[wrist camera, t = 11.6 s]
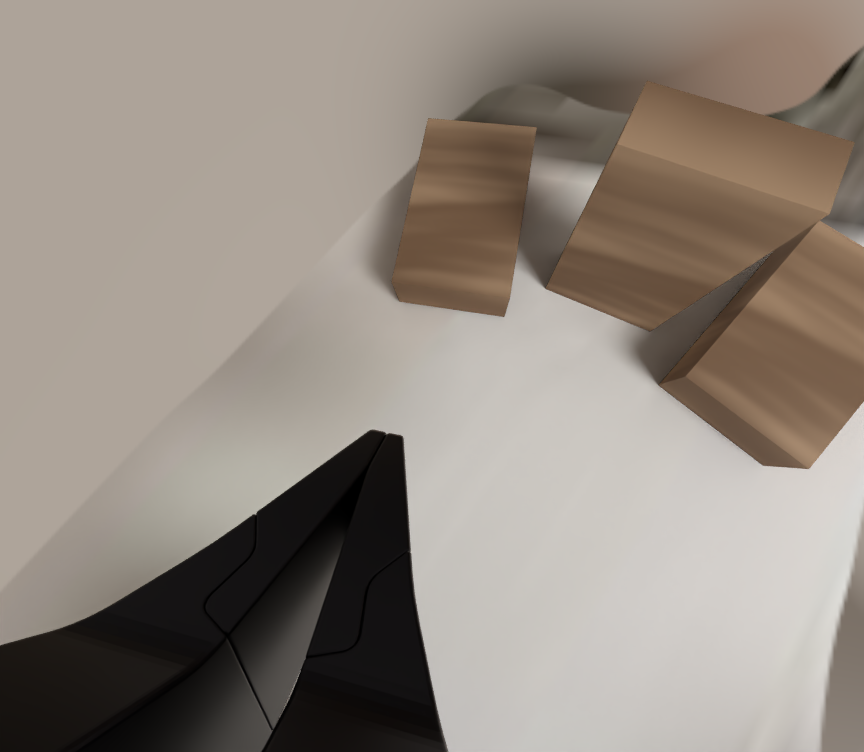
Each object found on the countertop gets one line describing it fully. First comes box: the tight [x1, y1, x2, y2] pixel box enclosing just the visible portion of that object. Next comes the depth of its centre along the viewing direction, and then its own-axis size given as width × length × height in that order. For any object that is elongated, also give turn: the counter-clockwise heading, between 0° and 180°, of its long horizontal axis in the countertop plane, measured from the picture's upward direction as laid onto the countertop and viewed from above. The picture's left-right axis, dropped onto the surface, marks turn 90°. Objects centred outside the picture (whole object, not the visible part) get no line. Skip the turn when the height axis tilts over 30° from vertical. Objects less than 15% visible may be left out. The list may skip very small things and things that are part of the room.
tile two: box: [391, 118, 537, 317], centre depth 21 cm, size 3×6×10 cm
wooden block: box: [659, 221, 864, 469], centre depth 18 cm, size 3×6×10 cm
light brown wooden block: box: [545, 81, 855, 331], centre depth 16 cm, size 3×6×10 cm, turn 63°
